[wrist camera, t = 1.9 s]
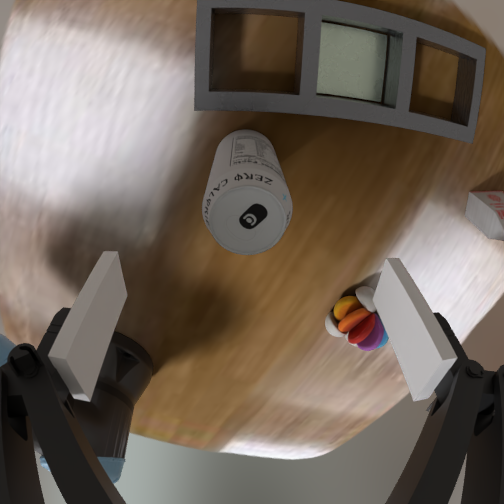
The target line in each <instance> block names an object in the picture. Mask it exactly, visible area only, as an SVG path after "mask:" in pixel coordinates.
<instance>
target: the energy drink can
mask: <svg viewBox="0 0 504 504" xmlns="http://www.w3.org/2000/svg"><path fill="white" fill-rule="evenodd" d="M292 210H293V209H292V200H291V196H290V193H289V190H288V187H287V184H286V181H285V179H284V176H283V173H282V170H281V167H280V164H279V162H278V159H277V156H276V153H275V151H274V148H273V146H272V144H271V142H270V141H269V140H268V139H267V137H265V136H264V135H263V134H261V133H259V132H257V131H253V130H246V129H244V130H238V131H234V132H232V133H230V134H228V135H227V136H226V137H225V138H223V140H222V141H221V142H220V144H219V146H218V148H217V151H216V154H215V158H214V161H213V165H212V169H211V172H210V176H209V180H208V183H207V187H206V191H205V195H204V199H203V203H202V214H203V219H204V222H205V224H206V226H207V228H208V229H209V231H210V232H211V234H212V235H213V237H214V239H215V240H216V241H217V242H218V243H219V244H220V245H221V246H222V247H223V248H225V249H227V250H228V251H231V252H233V253H236V254H241V255H253V254H258V253H262V252H264V251H266V250H268V249H270V248H271V247H273V246H274V245H275V244H276V243H277V242H278V241H279V240H280V239H281V237H282V236H283V234H284V231H285V229H286V228H287V226H288V225H289V222H290V220H291V216H292Z"/></svg>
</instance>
